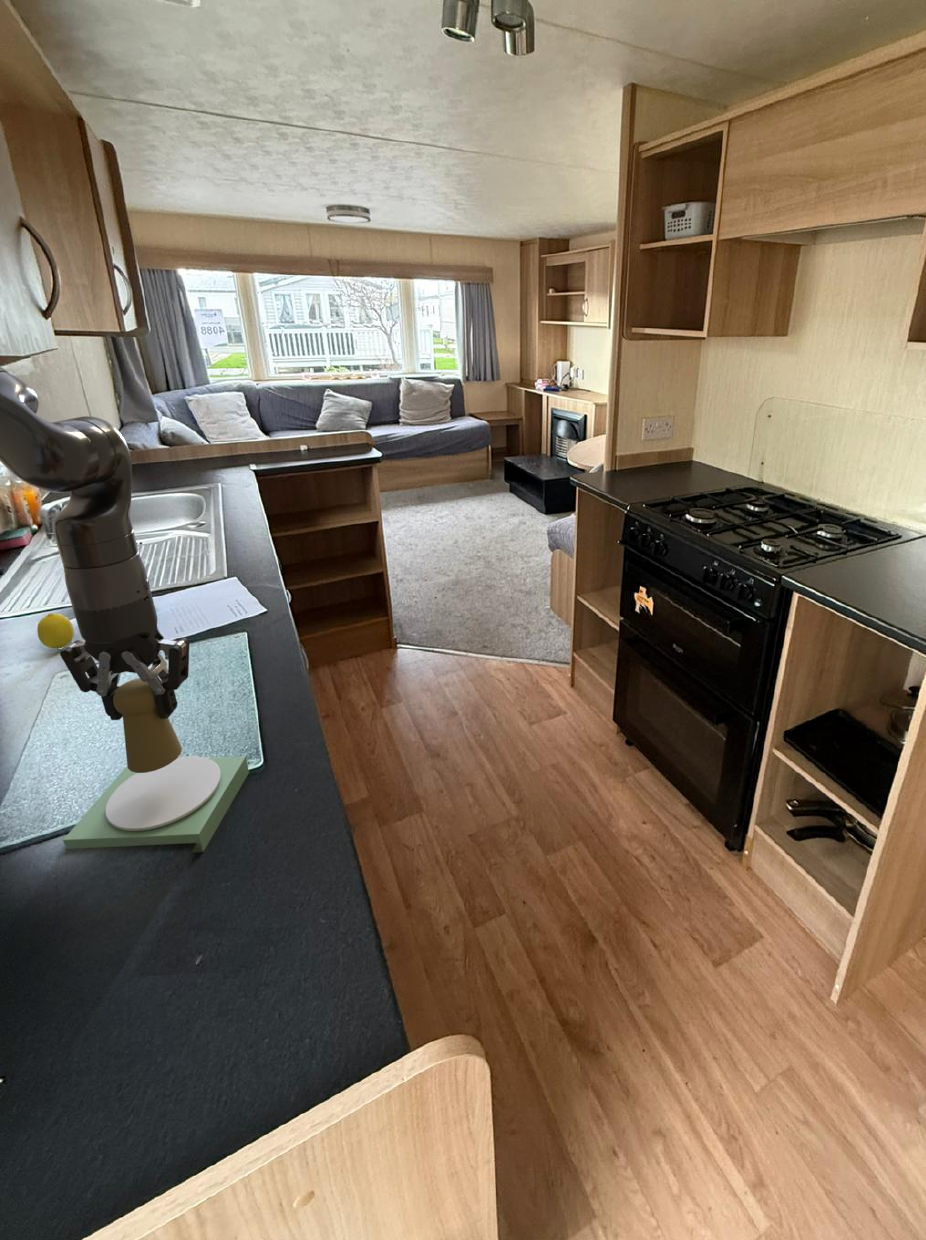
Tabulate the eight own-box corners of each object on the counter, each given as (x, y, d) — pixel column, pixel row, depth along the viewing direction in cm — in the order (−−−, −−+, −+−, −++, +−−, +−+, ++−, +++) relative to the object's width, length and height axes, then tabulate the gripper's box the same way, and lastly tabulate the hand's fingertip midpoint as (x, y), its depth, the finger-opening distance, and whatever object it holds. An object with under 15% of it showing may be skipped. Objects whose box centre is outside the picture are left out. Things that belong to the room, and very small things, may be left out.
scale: (66, 858, 73) (58, 835, 71) (134, 777, 86) (127, 755, 84) (203, 852, 74) (197, 829, 72) (249, 772, 87) (245, 751, 85)
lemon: (42, 648, 119) (31, 613, 117) (76, 639, 123) (66, 604, 120) (45, 659, 116) (33, 622, 113) (80, 649, 119) (69, 614, 116)
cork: (118, 776, 73) (95, 701, 69) (139, 744, 79) (119, 673, 75) (172, 769, 74) (152, 695, 71) (188, 738, 80) (171, 668, 76)
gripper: (21, 609, 65) (63, 737, 70) (157, 606, 66) (188, 733, 71) (69, 581, 72) (103, 699, 78) (191, 579, 73) (216, 696, 78)
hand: (144, 715), depth 74 cm, fingers closed on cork, 5 cm apart
